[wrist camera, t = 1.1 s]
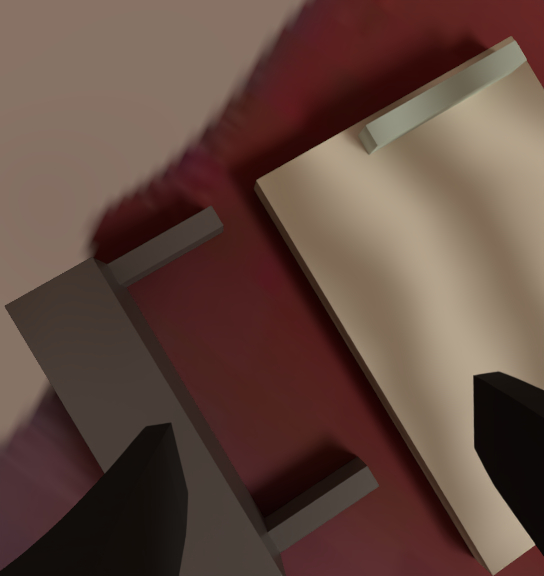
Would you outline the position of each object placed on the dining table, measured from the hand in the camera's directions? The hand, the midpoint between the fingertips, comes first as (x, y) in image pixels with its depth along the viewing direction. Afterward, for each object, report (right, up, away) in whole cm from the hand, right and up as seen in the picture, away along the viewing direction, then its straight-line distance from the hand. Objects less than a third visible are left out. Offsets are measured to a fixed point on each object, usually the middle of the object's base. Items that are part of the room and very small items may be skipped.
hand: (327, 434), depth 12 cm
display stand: (+9, +3, +12) cm, 15 cm away
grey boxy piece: (-4, -1, +11) cm, 11 cm away
